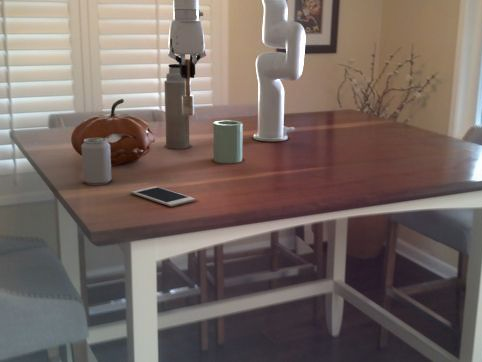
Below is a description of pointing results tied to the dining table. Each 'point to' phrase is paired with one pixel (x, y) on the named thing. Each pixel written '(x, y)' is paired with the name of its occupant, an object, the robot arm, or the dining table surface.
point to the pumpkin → (116, 135)
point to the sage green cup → (227, 141)
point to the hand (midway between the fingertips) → (187, 77)
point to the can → (96, 161)
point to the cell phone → (163, 196)
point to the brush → (188, 94)
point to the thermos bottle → (175, 110)
